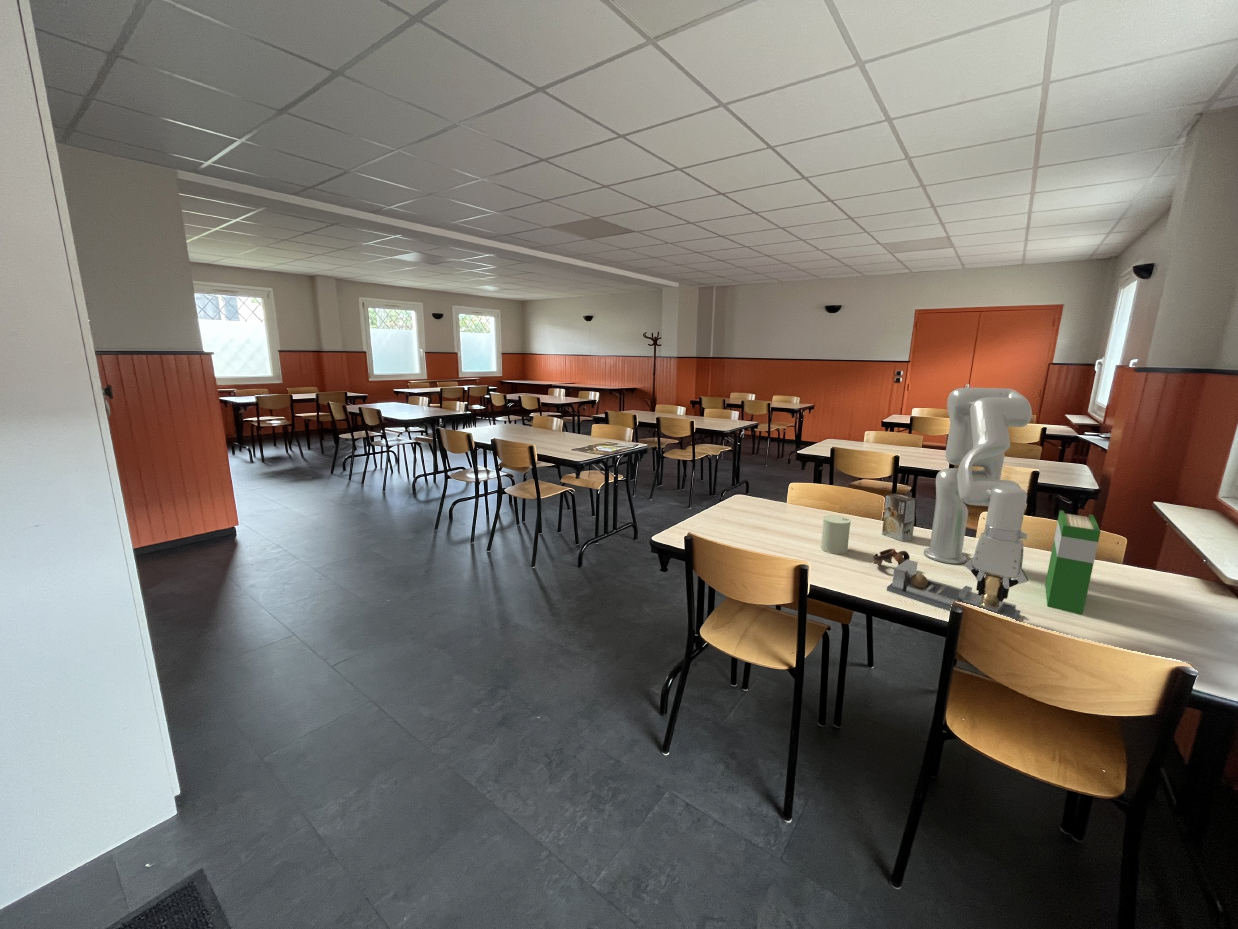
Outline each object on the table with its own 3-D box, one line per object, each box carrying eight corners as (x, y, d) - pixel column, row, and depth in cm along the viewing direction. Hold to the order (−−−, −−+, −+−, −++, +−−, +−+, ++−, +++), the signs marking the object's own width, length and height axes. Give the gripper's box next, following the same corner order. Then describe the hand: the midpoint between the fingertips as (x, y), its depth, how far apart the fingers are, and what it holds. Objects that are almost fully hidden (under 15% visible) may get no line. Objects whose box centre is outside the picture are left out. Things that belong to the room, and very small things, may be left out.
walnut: (912, 583, 154) (914, 570, 153) (928, 588, 151) (930, 574, 150) (907, 587, 151) (909, 574, 150) (923, 592, 148) (925, 579, 147)
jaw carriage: (964, 596, 145) (969, 564, 143) (1003, 608, 139) (1009, 574, 136) (956, 604, 141) (961, 571, 138) (996, 617, 134) (1002, 582, 132)
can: (852, 554, 179) (855, 522, 177) (826, 554, 180) (829, 521, 177) (841, 544, 188) (844, 514, 186) (816, 544, 189) (819, 513, 186)
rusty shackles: (896, 581, 160) (884, 556, 161) (874, 582, 168) (863, 558, 170) (922, 566, 164) (910, 542, 165) (900, 567, 172) (889, 545, 174)
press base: (902, 578, 160) (904, 557, 158) (1019, 614, 138) (1024, 590, 136) (886, 590, 152) (889, 568, 151) (1008, 630, 130) (1013, 604, 129)
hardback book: (1045, 584, 156) (1059, 510, 151) (1077, 591, 152) (1093, 514, 147) (1047, 606, 143) (1063, 525, 137) (1082, 614, 138) (1100, 531, 133)
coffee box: (913, 539, 194) (918, 499, 191) (902, 541, 191) (907, 501, 188) (891, 531, 202) (896, 493, 199) (880, 534, 200) (885, 494, 196)
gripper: (1045, 538, 130) (1032, 603, 134) (969, 522, 142) (959, 582, 146) (1039, 545, 125) (1026, 613, 129) (960, 528, 137) (951, 590, 141)
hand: (991, 596), depth 137 cm, fingers closed on jaw carriage, 4 cm apart
